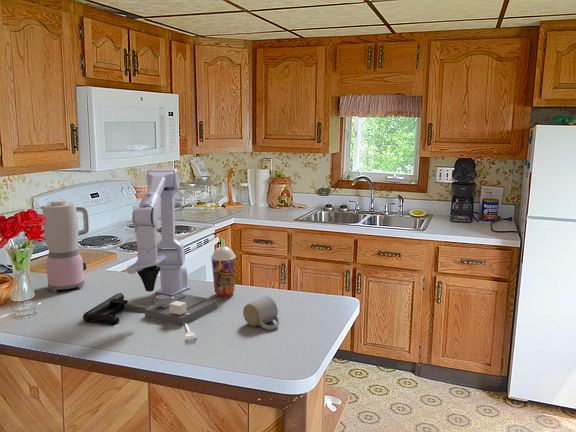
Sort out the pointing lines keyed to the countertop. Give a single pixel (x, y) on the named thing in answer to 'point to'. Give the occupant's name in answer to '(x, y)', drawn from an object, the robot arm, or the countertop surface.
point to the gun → (116, 307)
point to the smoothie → (223, 271)
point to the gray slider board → (194, 310)
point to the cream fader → (178, 307)
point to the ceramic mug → (261, 312)
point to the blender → (64, 245)
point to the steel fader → (162, 301)
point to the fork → (189, 332)
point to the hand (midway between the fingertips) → (149, 290)
